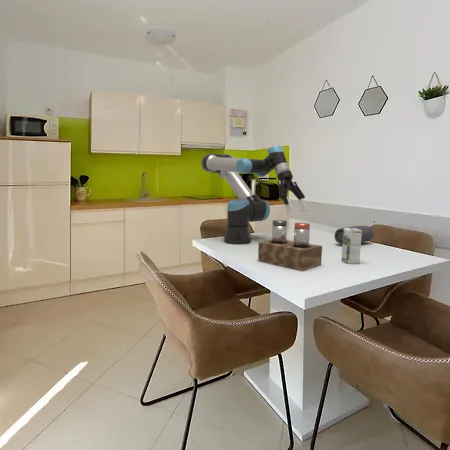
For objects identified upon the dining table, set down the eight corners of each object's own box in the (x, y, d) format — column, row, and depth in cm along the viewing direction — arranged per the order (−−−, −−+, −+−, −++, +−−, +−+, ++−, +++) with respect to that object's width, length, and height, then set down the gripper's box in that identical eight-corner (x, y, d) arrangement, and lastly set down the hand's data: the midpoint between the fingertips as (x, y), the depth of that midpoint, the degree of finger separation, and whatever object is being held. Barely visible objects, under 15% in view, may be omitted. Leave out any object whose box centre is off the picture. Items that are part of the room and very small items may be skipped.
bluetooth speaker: (359, 241, 199) (360, 224, 198) (373, 243, 191) (374, 226, 190) (332, 244, 187) (333, 226, 185) (347, 247, 179) (348, 228, 178)
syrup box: (340, 260, 150) (343, 227, 148) (354, 260, 151) (356, 227, 149) (346, 263, 145) (348, 229, 143) (360, 263, 145) (362, 229, 143)
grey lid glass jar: (269, 243, 148) (269, 220, 146) (277, 242, 152) (278, 219, 151) (280, 246, 144) (281, 222, 142) (288, 244, 148) (289, 221, 146)
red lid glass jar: (290, 247, 140) (291, 223, 139) (298, 246, 144) (299, 222, 143) (303, 250, 136) (304, 225, 134) (311, 248, 140) (312, 223, 139)
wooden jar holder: (258, 260, 148) (258, 242, 146) (277, 255, 157) (278, 238, 156) (302, 271, 132) (303, 250, 131) (321, 264, 142) (322, 245, 141)
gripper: (274, 167, 167) (289, 206, 161) (302, 172, 185) (316, 208, 179) (263, 174, 172) (277, 213, 166) (291, 178, 190) (304, 214, 184)
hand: (297, 210), depth 173 cm, fingers open, 13 cm apart
